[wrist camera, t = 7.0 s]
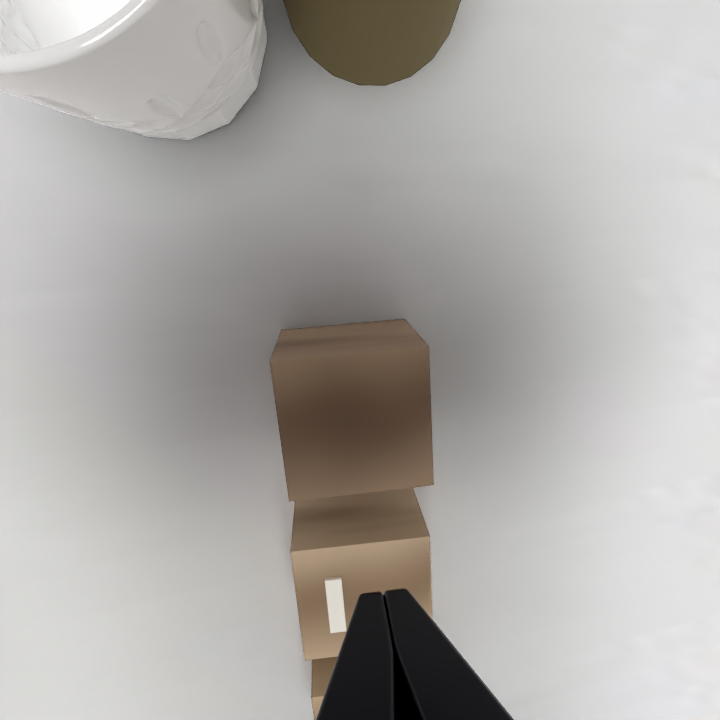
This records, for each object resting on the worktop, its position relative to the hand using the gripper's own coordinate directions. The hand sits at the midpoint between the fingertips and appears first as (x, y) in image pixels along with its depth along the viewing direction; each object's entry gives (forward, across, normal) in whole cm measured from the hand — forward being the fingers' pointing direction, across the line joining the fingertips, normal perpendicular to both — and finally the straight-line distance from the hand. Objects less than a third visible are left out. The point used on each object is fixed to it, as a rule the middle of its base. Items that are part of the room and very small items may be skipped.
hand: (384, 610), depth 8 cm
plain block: (+12, 0, 0) cm, 12 cm away
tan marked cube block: (+12, 0, +7) cm, 14 cm away
